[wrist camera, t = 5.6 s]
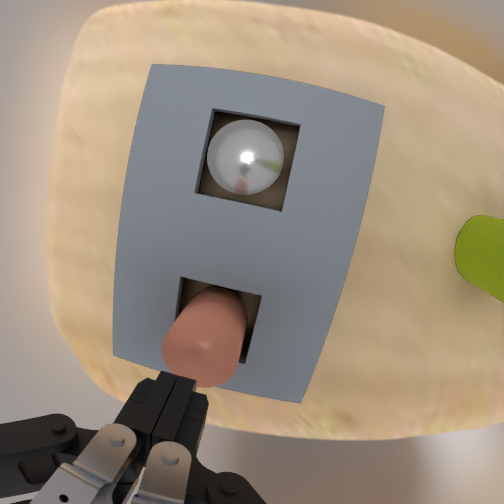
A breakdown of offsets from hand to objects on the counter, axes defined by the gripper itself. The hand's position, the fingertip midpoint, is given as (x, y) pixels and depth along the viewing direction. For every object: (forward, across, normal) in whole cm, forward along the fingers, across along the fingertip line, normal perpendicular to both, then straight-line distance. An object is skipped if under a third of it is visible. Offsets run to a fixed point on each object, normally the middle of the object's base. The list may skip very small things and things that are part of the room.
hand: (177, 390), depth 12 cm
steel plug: (+11, 0, -10) cm, 15 cm away
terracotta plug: (+8, 0, 0) cm, 8 cm away
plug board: (+12, 0, -5) cm, 13 cm away
